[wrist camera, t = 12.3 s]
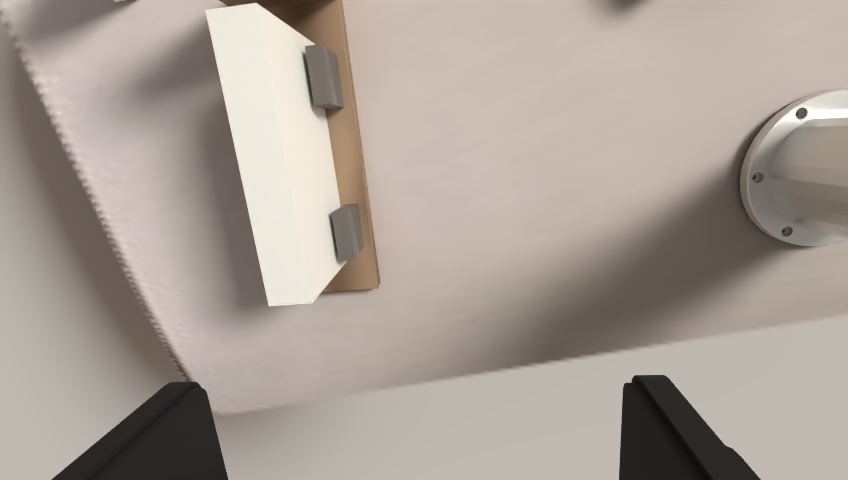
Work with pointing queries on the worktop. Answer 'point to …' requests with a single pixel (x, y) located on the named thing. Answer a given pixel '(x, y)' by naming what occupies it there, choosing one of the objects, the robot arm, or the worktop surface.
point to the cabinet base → (336, 131)
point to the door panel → (279, 150)
